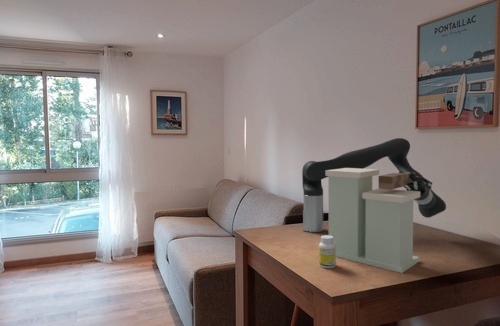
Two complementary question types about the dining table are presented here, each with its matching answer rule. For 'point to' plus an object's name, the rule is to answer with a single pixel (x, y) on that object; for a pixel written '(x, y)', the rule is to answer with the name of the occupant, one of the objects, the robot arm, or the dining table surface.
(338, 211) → the step stand
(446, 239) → the dining table surface
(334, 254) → the supplement bottle
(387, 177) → the walnut leg
